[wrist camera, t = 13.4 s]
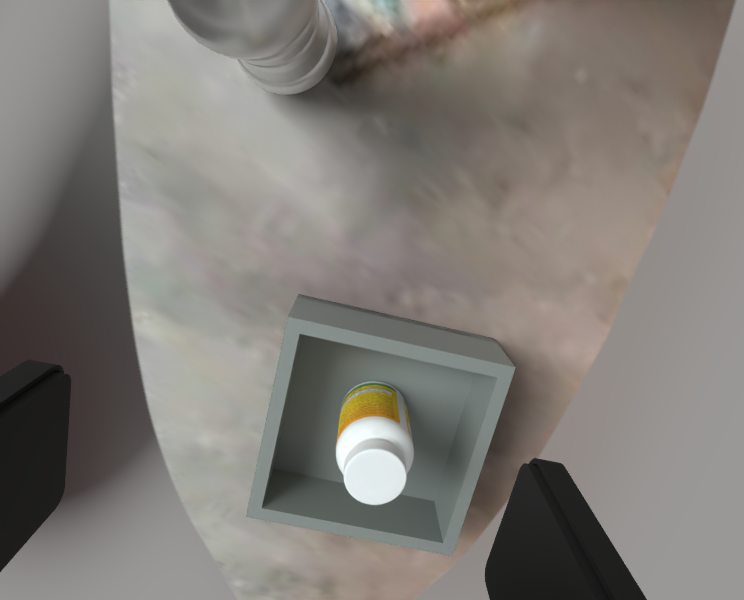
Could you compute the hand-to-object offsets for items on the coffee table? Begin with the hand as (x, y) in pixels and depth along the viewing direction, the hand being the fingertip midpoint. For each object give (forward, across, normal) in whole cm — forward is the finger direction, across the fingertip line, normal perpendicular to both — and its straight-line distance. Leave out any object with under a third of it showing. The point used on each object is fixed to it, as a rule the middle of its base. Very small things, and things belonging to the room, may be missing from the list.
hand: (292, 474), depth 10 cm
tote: (+29, -5, +13) cm, 32 cm away
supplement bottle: (+28, -5, +13) cm, 31 cm away
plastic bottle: (+30, +6, -12) cm, 33 cm away
